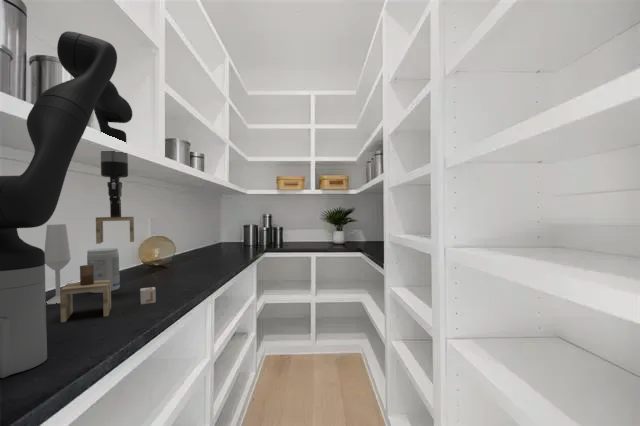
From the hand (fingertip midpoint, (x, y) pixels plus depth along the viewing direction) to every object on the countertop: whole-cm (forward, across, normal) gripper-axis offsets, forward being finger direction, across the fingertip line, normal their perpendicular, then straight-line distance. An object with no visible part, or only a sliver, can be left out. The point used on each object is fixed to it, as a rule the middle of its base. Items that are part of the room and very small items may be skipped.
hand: (115, 215), depth 111 cm
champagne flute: (+27, +4, +16) cm, 32 cm away
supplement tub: (+27, +15, +5) cm, 31 cm away
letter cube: (+27, -12, -9) cm, 31 cm away
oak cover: (+9, 0, 0) cm, 9 cm away
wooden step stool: (+27, -19, +6) cm, 33 cm away
